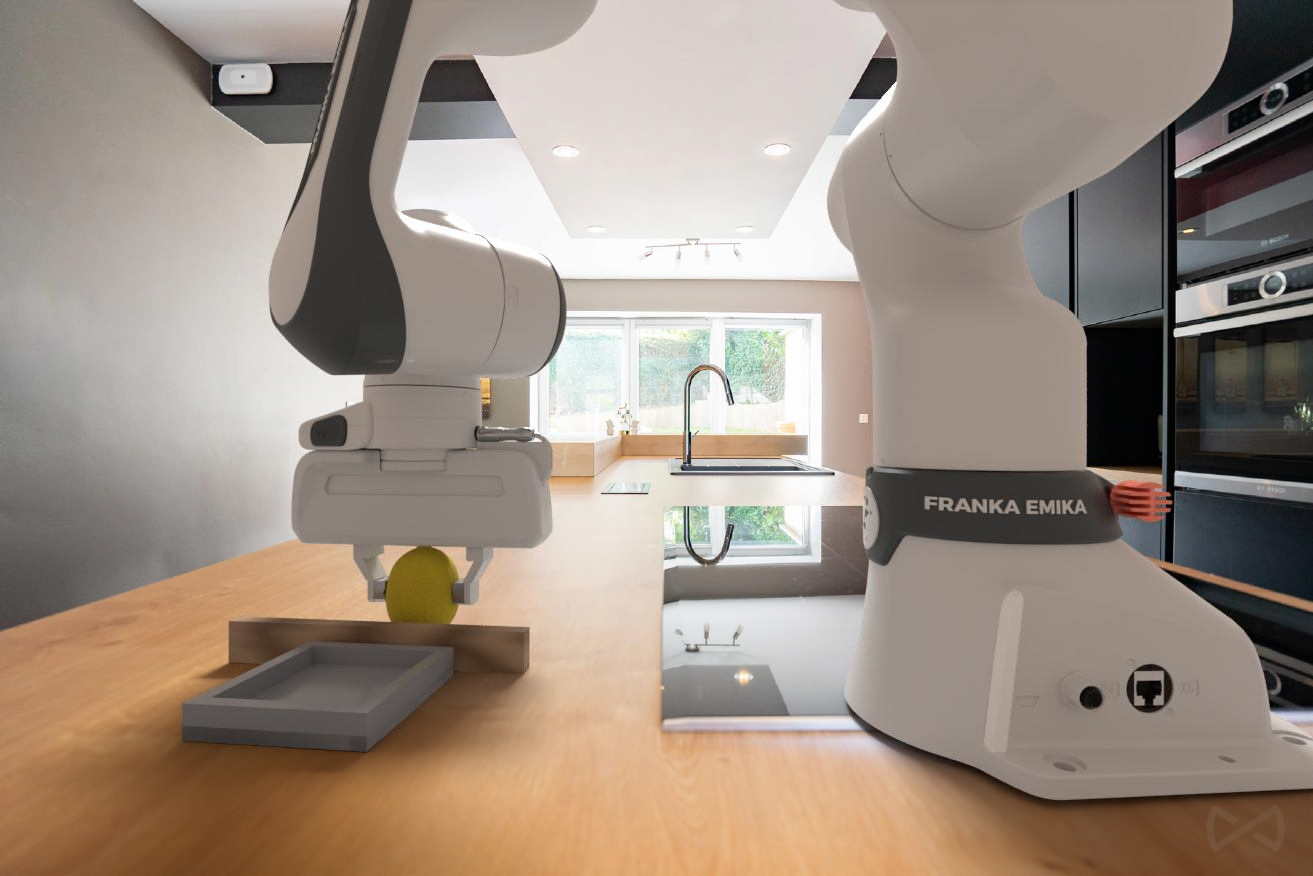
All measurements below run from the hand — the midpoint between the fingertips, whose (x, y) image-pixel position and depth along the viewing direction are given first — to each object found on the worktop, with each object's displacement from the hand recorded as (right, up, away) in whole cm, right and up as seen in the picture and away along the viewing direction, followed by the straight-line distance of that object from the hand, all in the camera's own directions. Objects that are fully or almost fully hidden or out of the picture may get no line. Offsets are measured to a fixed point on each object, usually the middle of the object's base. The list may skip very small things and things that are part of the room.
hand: (423, 602), depth 50 cm
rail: (-2, -3, -5) cm, 6 cm away
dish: (-1, -3, -11) cm, 12 cm away
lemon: (0, -4, 0) cm, 4 cm away
